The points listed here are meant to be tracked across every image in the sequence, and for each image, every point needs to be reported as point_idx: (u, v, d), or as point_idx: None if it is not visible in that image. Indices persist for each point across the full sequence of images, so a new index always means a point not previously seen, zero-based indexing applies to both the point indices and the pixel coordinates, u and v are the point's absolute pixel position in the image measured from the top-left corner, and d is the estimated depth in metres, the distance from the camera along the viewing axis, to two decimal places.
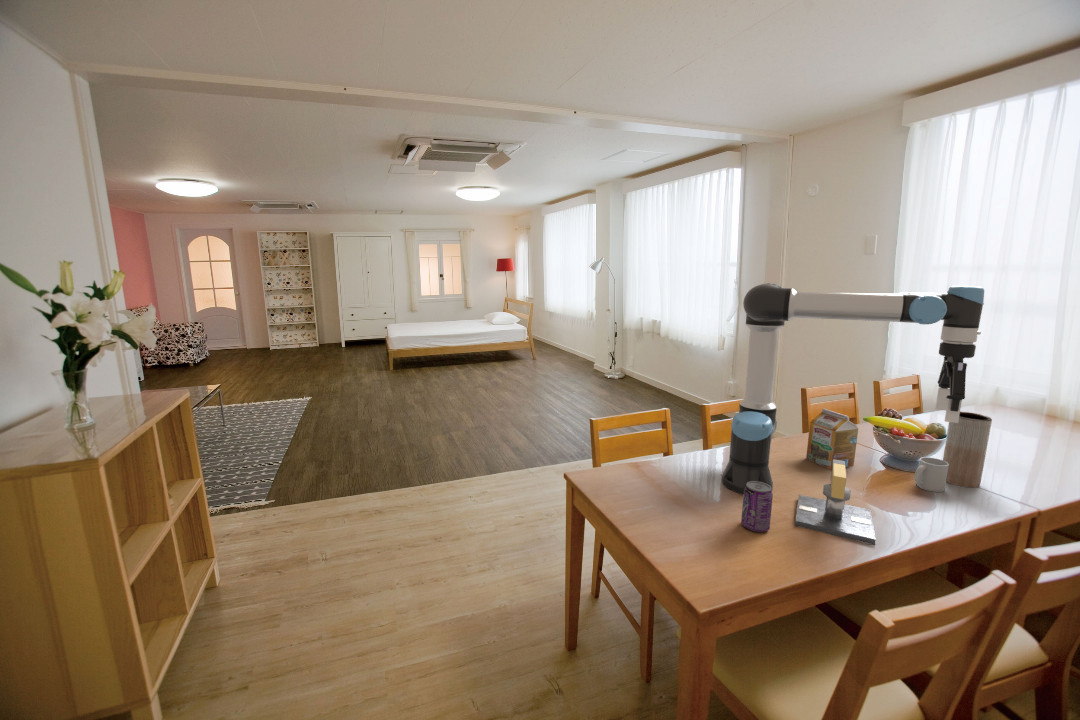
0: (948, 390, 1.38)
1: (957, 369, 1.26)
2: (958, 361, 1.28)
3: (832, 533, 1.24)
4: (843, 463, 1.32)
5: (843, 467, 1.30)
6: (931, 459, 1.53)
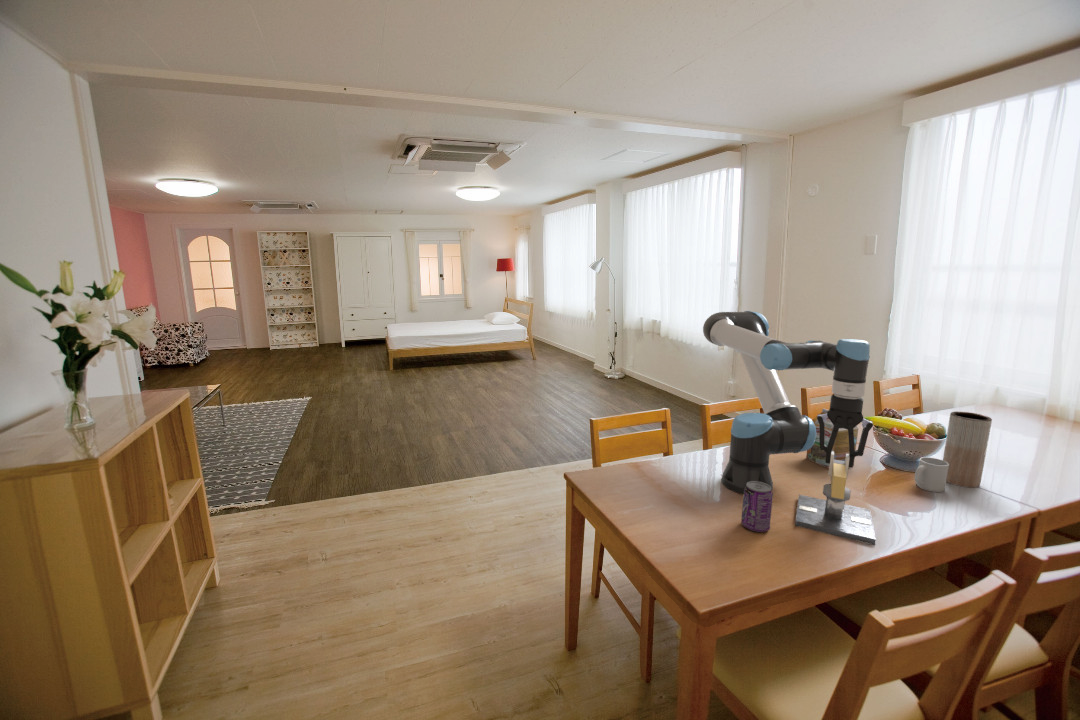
0: (846, 457, 1.31)
1: None
2: None
3: (832, 533, 1.24)
4: (843, 463, 1.32)
5: (843, 467, 1.30)
6: (931, 459, 1.53)
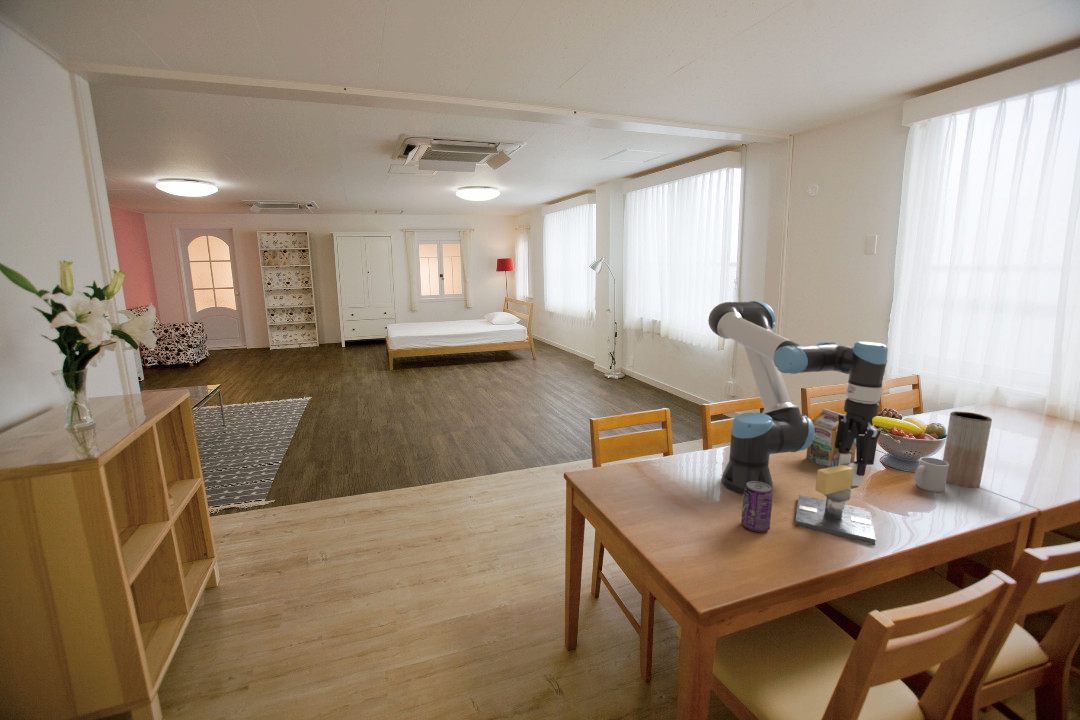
0: None
1: None
2: None
3: (832, 533, 1.24)
4: None
5: (845, 468, 1.29)
6: (931, 459, 1.53)
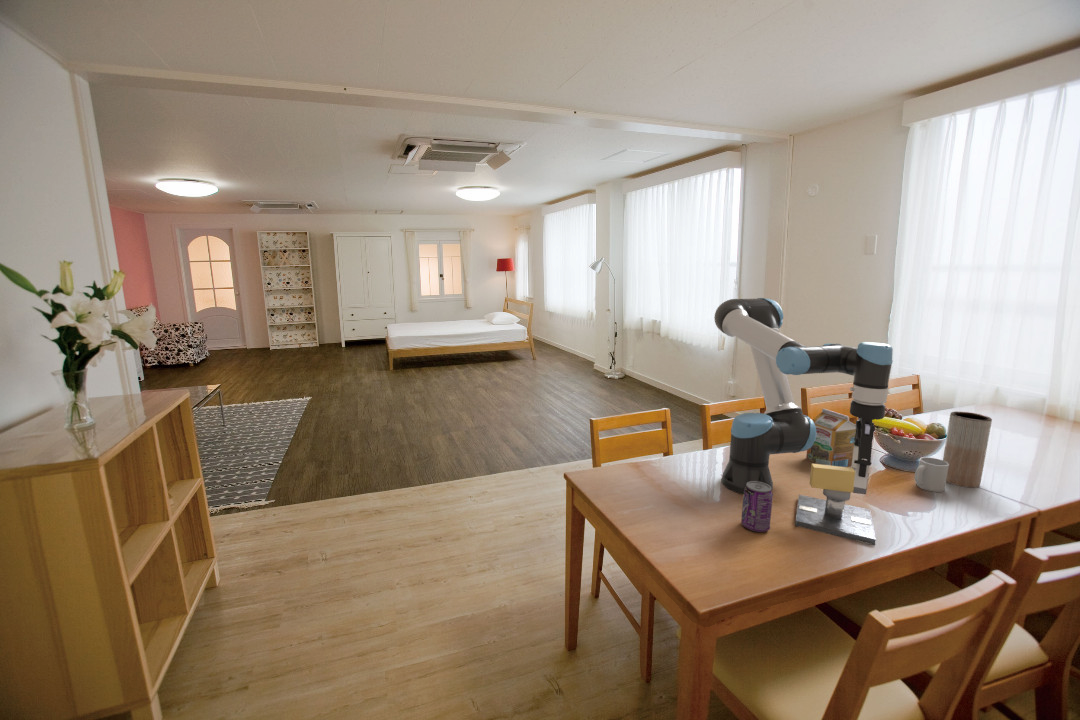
0: None
1: None
2: None
3: (832, 533, 1.24)
4: None
5: (845, 470, 1.28)
6: (931, 459, 1.53)
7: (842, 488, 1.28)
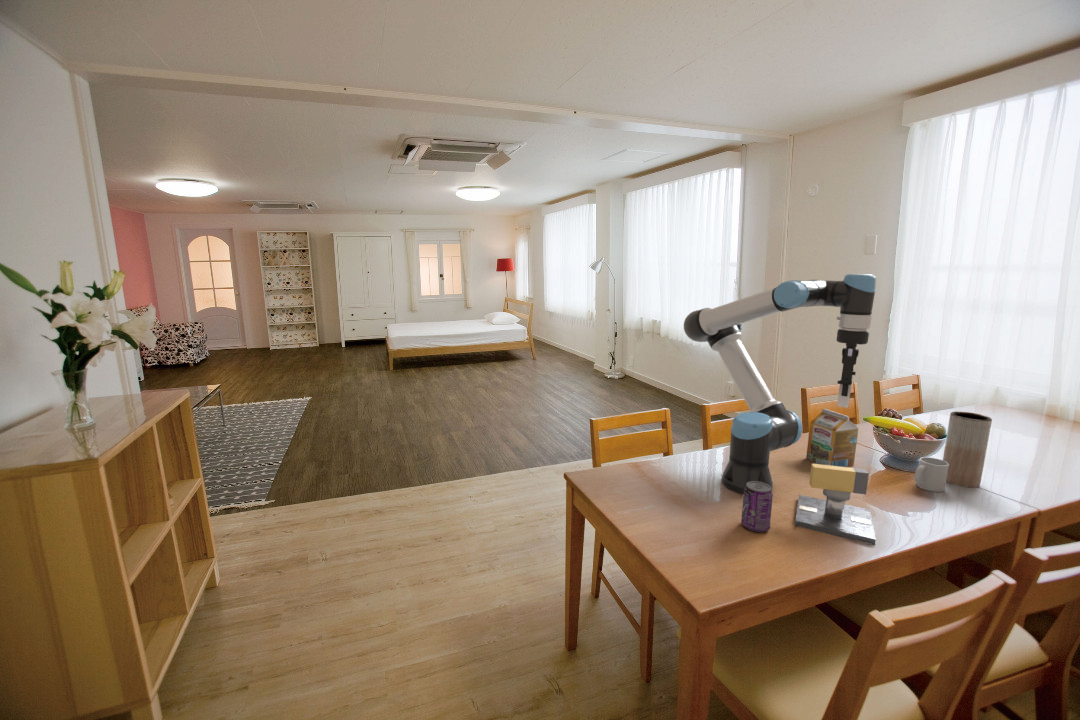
0: None
1: None
2: None
3: (832, 533, 1.24)
4: (858, 471, 1.27)
5: (845, 470, 1.28)
6: (931, 459, 1.53)
7: (842, 488, 1.28)
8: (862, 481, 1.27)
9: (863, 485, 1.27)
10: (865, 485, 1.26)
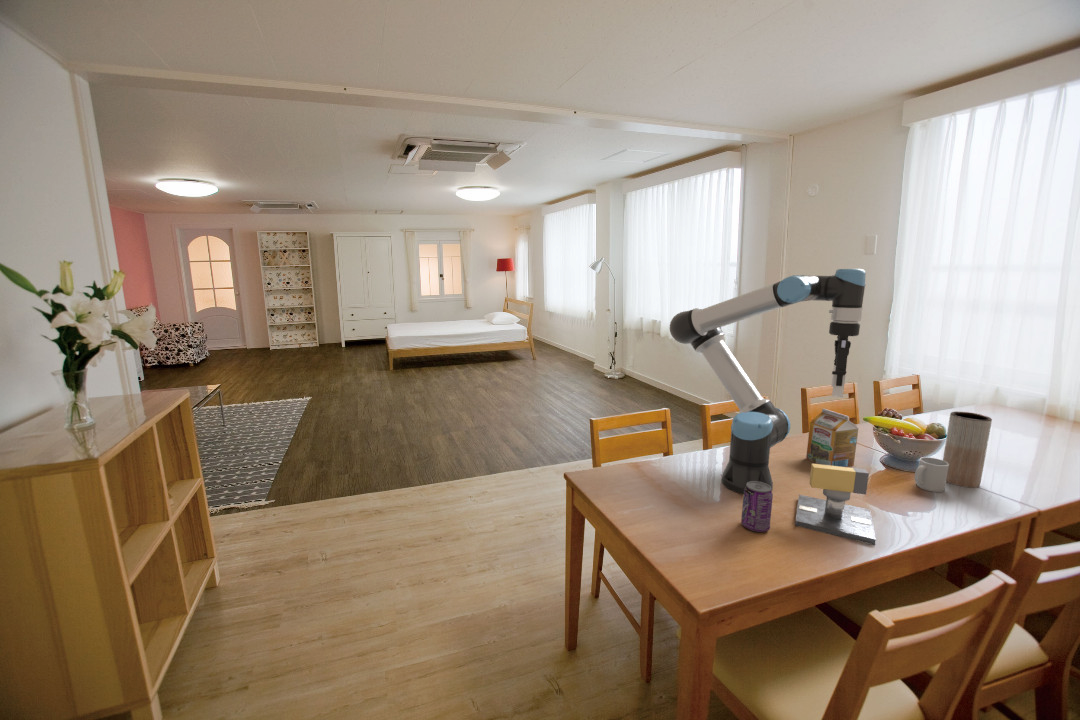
0: None
1: None
2: None
3: (832, 533, 1.24)
4: (858, 471, 1.27)
5: (845, 470, 1.28)
6: (931, 459, 1.53)
7: (842, 488, 1.28)
8: (862, 481, 1.27)
9: (863, 485, 1.27)
10: (865, 485, 1.26)
